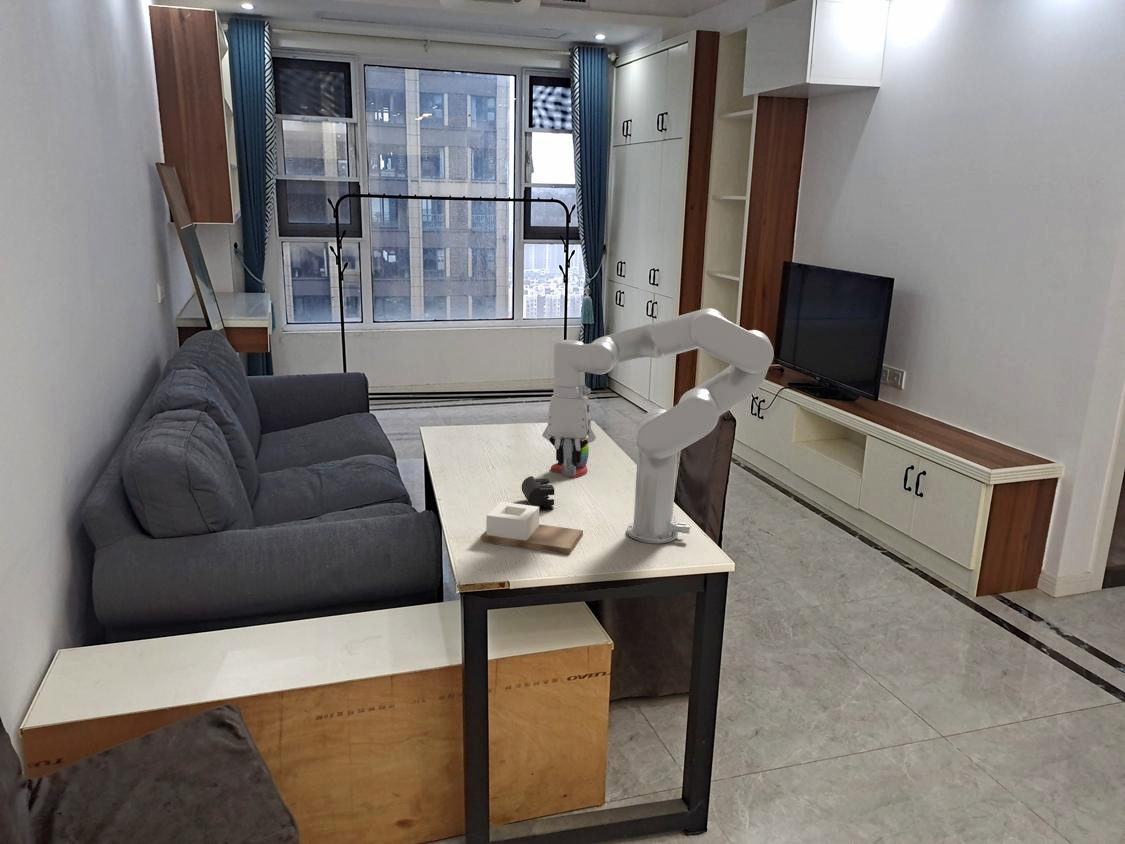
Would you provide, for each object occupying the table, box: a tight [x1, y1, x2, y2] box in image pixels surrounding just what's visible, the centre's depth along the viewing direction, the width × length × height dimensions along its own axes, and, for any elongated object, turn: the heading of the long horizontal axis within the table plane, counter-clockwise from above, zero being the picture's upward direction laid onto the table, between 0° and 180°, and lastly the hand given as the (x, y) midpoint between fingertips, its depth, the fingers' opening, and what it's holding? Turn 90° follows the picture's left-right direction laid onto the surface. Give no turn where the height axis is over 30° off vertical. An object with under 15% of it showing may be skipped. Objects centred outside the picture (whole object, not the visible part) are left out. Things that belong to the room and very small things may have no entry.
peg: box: [561, 438, 576, 478], centre depth 205 cm, size 3×3×10 cm
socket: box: [485, 501, 540, 541], centre depth 201 cm, size 10×10×5 cm
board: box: [480, 523, 584, 555], centre depth 201 cm, size 22×12×2 cm, turn 74°
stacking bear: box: [550, 437, 590, 479], centre depth 251 cm, size 11×10×18 cm
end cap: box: [521, 475, 555, 512], centre depth 223 cm, size 10×7×7 cm
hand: (568, 463), depth 205 cm, fingers closed on peg, 3 cm apart
